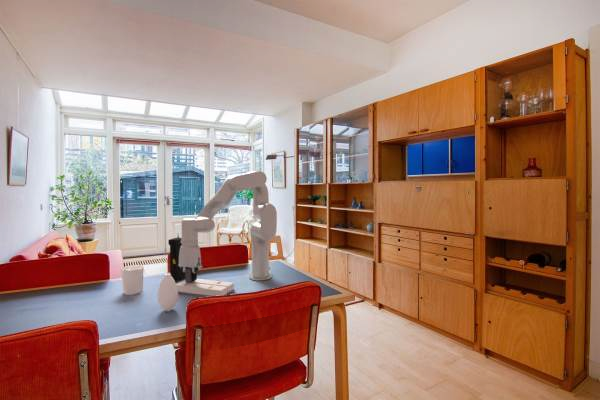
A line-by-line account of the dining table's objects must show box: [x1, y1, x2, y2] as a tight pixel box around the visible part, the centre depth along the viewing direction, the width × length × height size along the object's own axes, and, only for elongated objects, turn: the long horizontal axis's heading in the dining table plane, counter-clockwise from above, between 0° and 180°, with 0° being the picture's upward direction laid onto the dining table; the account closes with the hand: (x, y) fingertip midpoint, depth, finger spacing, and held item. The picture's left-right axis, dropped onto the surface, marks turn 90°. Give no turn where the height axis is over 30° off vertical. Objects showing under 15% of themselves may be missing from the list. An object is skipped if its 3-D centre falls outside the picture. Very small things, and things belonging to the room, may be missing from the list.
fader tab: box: [185, 267, 196, 283], centre depth 156 cm, size 4×3×10 cm
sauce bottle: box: [157, 267, 179, 312], centre depth 131 cm, size 8×8×18 cm
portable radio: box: [167, 233, 184, 282], centre depth 173 cm, size 8×6×25 cm
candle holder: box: [120, 264, 145, 296], centre depth 153 cm, size 10×10×12 cm
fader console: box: [176, 278, 235, 298], centre depth 154 cm, size 12×26×4 cm, turn 72°
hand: (190, 279), depth 156 cm, fingers open, 3 cm apart
